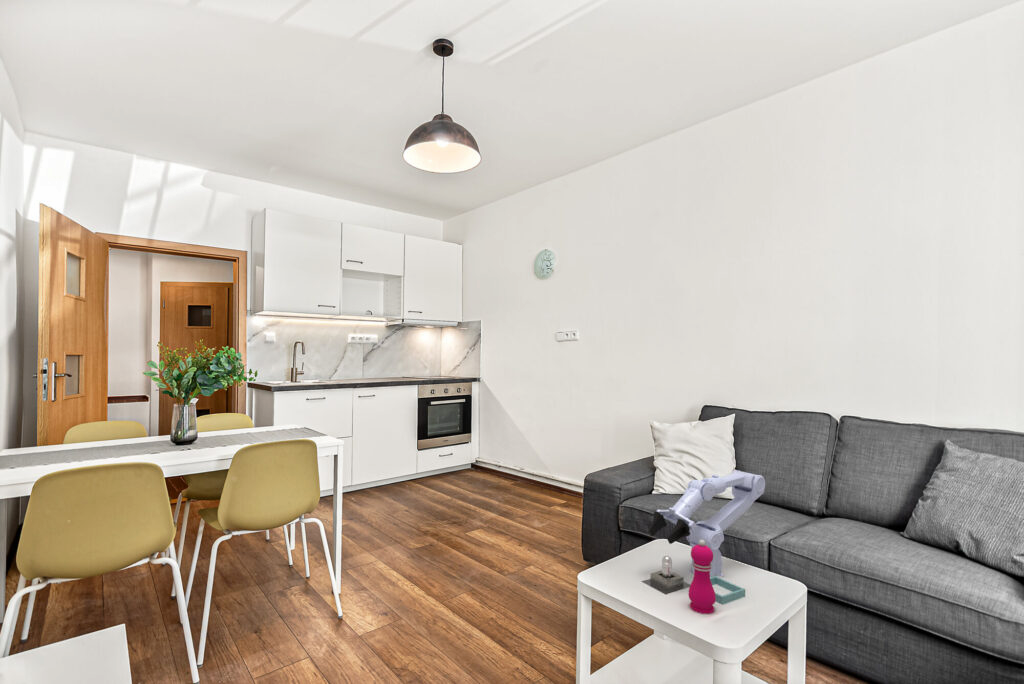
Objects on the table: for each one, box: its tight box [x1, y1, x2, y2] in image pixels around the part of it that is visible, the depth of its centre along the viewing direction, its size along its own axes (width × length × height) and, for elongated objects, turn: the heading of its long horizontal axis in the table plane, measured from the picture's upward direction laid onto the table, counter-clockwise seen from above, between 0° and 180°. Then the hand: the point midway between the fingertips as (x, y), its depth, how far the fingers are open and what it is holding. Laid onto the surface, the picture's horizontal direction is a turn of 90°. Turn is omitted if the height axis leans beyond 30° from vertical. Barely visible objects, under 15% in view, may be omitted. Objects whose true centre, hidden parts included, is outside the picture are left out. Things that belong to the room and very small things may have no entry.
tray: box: [710, 575, 746, 605], centre depth 150 cm, size 10×10×3 cm
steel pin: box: [661, 555, 673, 579], centre depth 156 cm, size 3×3×8 cm
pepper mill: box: [687, 540, 716, 615], centre depth 141 cm, size 7×7×20 cm
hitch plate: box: [640, 569, 691, 595], centre depth 156 cm, size 12×10×4 cm
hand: (659, 537), depth 154 cm, fingers open, 7 cm apart
